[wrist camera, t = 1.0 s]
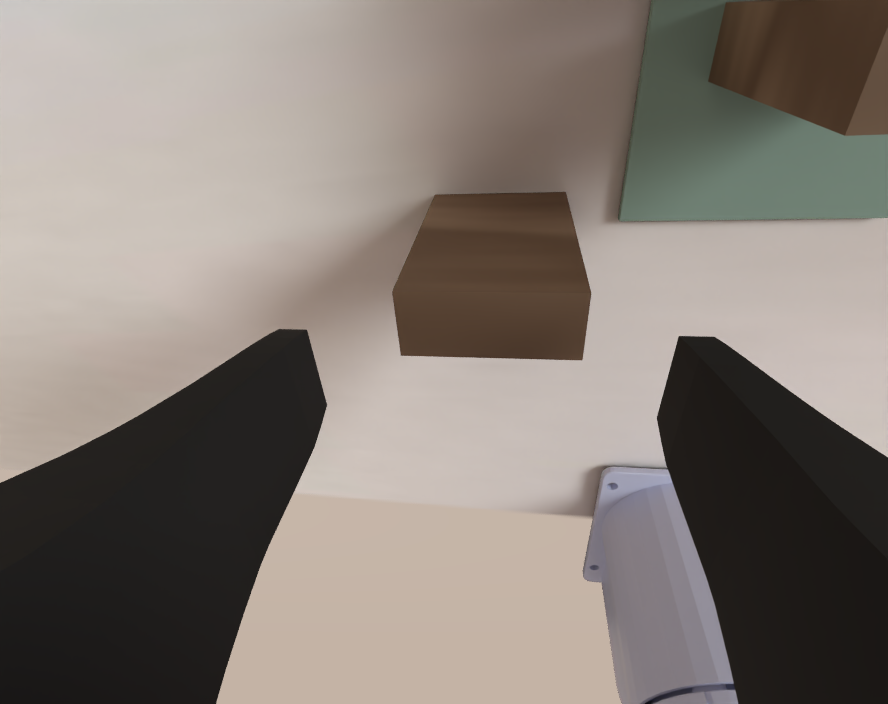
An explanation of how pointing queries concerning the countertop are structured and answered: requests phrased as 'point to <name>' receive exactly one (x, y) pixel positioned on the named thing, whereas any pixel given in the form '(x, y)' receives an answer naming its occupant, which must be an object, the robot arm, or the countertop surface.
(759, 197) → the mat
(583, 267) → the domino
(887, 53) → the domino
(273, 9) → the countertop surface
